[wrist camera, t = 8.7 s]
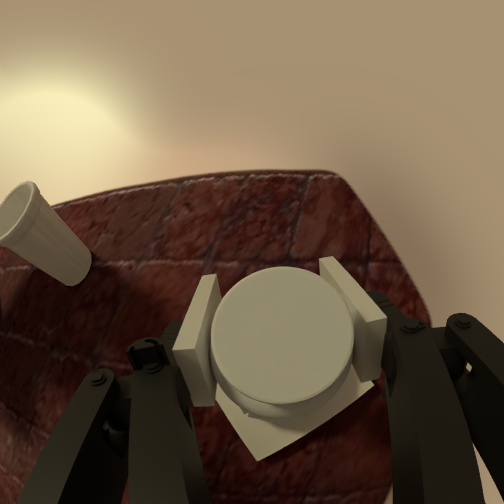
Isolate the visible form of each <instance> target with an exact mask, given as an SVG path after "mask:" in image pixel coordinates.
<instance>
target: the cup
mask: <svg viewBox="0 0 504 504" xmlns="http://www.w3.org/2000/svg"><path fill="white" fill-rule="evenodd" d="M0 245H1V246H2V247H8V248H10V249H11V250H13V251H14V252H15V253H17V254H18V255H20V256H21V257H23V258H24V259H26V260H27V261H29V262H30V263H32V264H33V265H35V266H36V267H38V268H39V269H41V270H42V271H44V272H46V273H47V274H49V275H50V276H52V277H54V278H55V279H57V280H59V281H60V282H62V283H64V284H65V285H66V286H74V285H76V284H78V283H80V282H81V281H82V280H83V279H84V278H85V276H86V275H87V273H88V271H89V269H90V266H91V262H92V261H91V253H90V251H89V249H88V248H87V247H86V246H85V245H84V244H83V243H82V242H81V240H80V239H79V238H78V237H77V236H76V235H75V234H74V233H73V232H72V231H71V230H70V228H69V227H68V226H67V225H66V224H65V223H64V222H63V220H62V219H61V218H60V217H59V216H58V215H57V213H56V212H55V211H54V210H53V209H52V208H51V206H50V205H49V204H48V203H47V201H46V200H45V199H44V198H43V197H42V195H41V194H40V191H39V189H38V187H37V186H36V184H35V183H33V182H31V181H26V182H23V183H21V184H20V185H18V186H17V187H15V188H14V189H13V190H12V191H11V192H10V193H9V194H8V195H7V197H6V198H5V199H4V201H3V202H2V204H1V206H0Z"/></svg>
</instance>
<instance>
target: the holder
mask: <svg viewBox="0 0 504 504" xmlns="http://www.w3.org/2000/svg"><path fill="white" fill-rule="evenodd" d="M373 386H374V384H373V383H372V381H367V382H364V383H361V382H360V380H359V378H358V376H357V374H356V372H355V369H354V367H353V365H352V363H351V367H350V371H349V373H348V376H347V378H346V380H345V381H344V383H343V385H342V386H341V388H340V389H339V391H338V392H337V393H336V394H335V395H334V396H333V397H332V398H331V399H330V400H329V401H328V402H327V403H326V404H325V405H323V406H322V407H320V408H319V409H317V410H315V411H313V412H311V413H309V414H307V415H304V416H301V417H297V418H293V419H282V420H277V419H268V418H263V417H260V416H256V415H254V414H251V413H249V412H247V411H245V410H244V409H242V408H240V407H239V406H238V405H236V404H235V403H234V402H233V401H232V400H230V399H229V398H228V396H227V395H226V394H225V393H224V392H223V390H222V389H221V387H220V386H219V384H218V382H217V389H216V397H215V399H216V400H217V402H218V403H219V405H220V407H221V408H222V410H223V411H224V413H225V415H226V416H227V418H228V419H229V421H230V422H231V424H232V425H233V427H234V428H235V430H236V431H237V433H238V434H239V436H240V437H241V439H242V440H243V442H244V443H245V445H246V446H247V448H248V449H249V450H250V452H251V453H252V455H253V456H254V457H255V459H256V460H257V461H259V460H261V459H263V458H265V457H267V456H269V455H271V454H273V453H275V452H276V451H278V450H280V449H282V448H284V447H285V446H287V445H289V444H291V443H292V442H294V441H296V440H297V439H299V438H301V437H302V436H304V435H306V434H307V433H309V432H310V431H312V430H314V429H315V428H317V427H318V426H320V425H321V424H323V423H324V422H326V421H327V420H329V419H330V418H332V417H333V416H334V415H336V414H337V413H339V412H340V411H342V410H343V409H344V408H346V407H347V406H348V405H350V404H351V403H352V402H354V401H355V400H356V399H358V398H359V397H360V396H361V395H363V394H364V393H365V392H367V391H368V390H369V389H370V388H371V387H373Z"/></svg>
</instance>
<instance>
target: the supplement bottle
mask: <svg viewBox="0 0 504 504" xmlns="http://www.w3.org/2000/svg"><path fill="white" fill-rule="evenodd" d="M353 346H354V324H353V319H352V316H351V313H350V310H349V308H348V305H347V303H346V302H345V300H344V298H343V297H342V296H341V294H340V293H339V292H338V291H337V290H336V289H335V287H334V286H332V285H331V284H330V283H329V282H328V281H326V280H325V279H323V278H322V277H320V276H318V275H317V274H315V273H312V272H310V271H307V270H304V269H299V268H293V267H274V268H268V269H264V270H261V271H258V272H255V273H253V274H251V275H249V276H247V277H245V278H243V279H242V280H241V281H239V282H238V283H237V284H236V285H234V286H233V287H232V288H231V289H230V290H229V291H228V293H227V294H226V295H225V296H224V298H223V299H222V301H221V302H220V304H219V306H218V308H217V310H216V313H215V316H214V319H213V323H212V328H211V343H210V360H211V366H212V370H213V373H214V375H215V378H216V380H217V382H218V384H219V386H220V387H221V389H222V390H223V392H224V393H225V394H226V395H227V396H228V398H229V399H230V400H232V401H233V402H234V403H235V404H236V405H238V406H239V407H240V408H242V409H244V410H245V411H247V412H249V413H251V414H254V415H256V416H260V417H263V418H268V419H277V420H282V419H293V418H297V417H301V416H304V415H307V414H309V413H311V412H313V411H315V410H317V409H319V408H320V407H322V406H323V405H325V404H326V403H327V402H328V401H329V400H330V399H331V398H332V397H333V396H334V395H335V394H336V393H337V392H338V391H339V389H340V388H341V386H342V385H343V383H344V381H345V380H346V378H347V376H348V373H349V371H350V367H351V363H352V358H353Z"/></svg>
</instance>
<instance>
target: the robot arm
mask: <svg viewBox="0 0 504 504" xmlns="http://www.w3.org/2000/svg"><path fill="white" fill-rule="evenodd" d="M319 264H320V277H322V278H323V279H325V280H326V281H328V282H329V283H330V284H331V285H332V286H334V287H335V289H336V290H337V291H338V292H339V293H340V294H341V296H342V297H343V298H344V300H345V302H346V303H347V305H348V308H349V310H350V313H351V316H352V319H353V324H354V346H353V358H352V365H353V367H354V369H355V372H356V374H357V376H358V378H359V380H360V382H361V383H364V382H367V381H371V380H375V379H378V378H380V372H381V367H382V368H383V370H384V372H385V373H386V376H385V382H384V387H383V392H382V398H383V397H385V393H386V400H387V408H388V417H389V427H390V438H391V452H392V474H393V504H486V503H485V501H484V496H483V489H482V483H481V479H480V473H479V468H478V464H477V459H476V455H475V451H474V447H473V444H474V446H475V447H476V449H477V451H478V452H479V454H480V456H481V458H482V460H483V461H484V463H485V465H486V467H487V469H488V471H489V473H490V475H491V476H492V479H493V481H494V482H495V484H496V487H497V489H498V490H499V492H500V495H501V497H502V499H503V501H504V343H503V342H502V341H501V340H500V339H499V338H497V337H496V336H495V335H494V334H493V333H492V332H491V331H490V330H489V329H487V328H486V327H485V326H484V325H483V324H482V323H480V322H479V321H478V320H477V319H476V318H474V317H473V316H471V315H468V314H465V313H457V314H453V315H451V316H450V317H449V318H448V319H447V323H446V327H438V328H429V327H428V325H427V324H426V323H425V322H424V321H422V320H420V319H417V318H407V317H406V316H405V315H404V314H403V313H402V312H401V311H400V310H399V309H398V308H397V307H396V306H395V305H394V304H393V303H392V302H391V301H390V300H389V299H388V298H387V297H386V296H385V295H384V294H383V293H380V292H378V291H376V290H374V291H370V292H365V291H364V290H363V289H362V288H361V287H360V286H359V284H358V283H357V282H356V281H355V280H354V279H353V278H352V277H351V276H350V274H349V273H348V272H347V271H346V270H345V269H344V268H343V267H342V266H341V265H340V264H339V263H338V261H337V260H336V259H335V258H334V257H333V256H332V257H326V258H319ZM221 301H222V298H221V294H220V289H219V284H218V279H217V275H216V274H212V275H205V276H202V278H201V280H200V283H199V285H198V287H197V290H196V292H195V295H194V297H193V299H192V302H191V304H190V307H189V309H188V312H187V314H186V316H185V319H184V321H173V322H172V323H170V324H169V325H168V326H167V327H166V328H165V330H164V332H163V334H162V336H161V338H160V339H159V338H155V337H147V338H142V339H139V340H137V341H135V342H133V343H132V344H131V345H129V346H128V347H127V349H126V354H127V356H128V358H129V360H130V363H131V365H132V367H133V369H134V374H132V375H128V376H123V377H118V378H116V377H115V375H114V373H113V371H111V370H110V369H105V368H103V369H97V370H94V371H92V372H91V373H89V374H88V375H87V376H86V377H85V378H84V379H83V381H82V382H81V384H80V386H79V387H78V389H77V390H76V392H75V394H74V395H73V397H72V399H71V400H70V402H69V404H68V405H67V407H66V409H65V410H64V412H63V414H62V416H61V417H60V419H59V421H58V423H57V424H56V426H55V428H54V430H53V431H52V433H51V435H50V437H49V439H48V441H47V442H46V444H45V446H44V448H43V450H42V452H41V454H40V456H39V458H38V460H37V462H36V464H35V466H34V468H33V470H32V472H31V474H30V476H29V478H28V480H27V482H26V484H25V487H24V489H23V491H22V493H21V496H20V498H19V500H18V502H17V504H121V501H122V497H123V493H124V489H125V486H126V482H127V478H128V480H129V504H212V501H211V498H210V494H209V490H208V486H207V482H206V478H205V474H204V470H203V466H202V461H201V457H200V452H199V447H198V443H197V438H196V433H195V427H194V422H193V417H192V413H191V411H190V408H189V401H190V397H191V399H192V402H193V404H194V406H214V405H215V397H216V389H217V380H216V378H215V375H214V373H213V370H212V366H211V360H210V343H211V328H212V323H213V319H214V316H215V313H216V310H217V308H218V306H219V304H220V302H221ZM467 363H469V364H470V365H471V366H472V369H471V371H468V370H467V368H466V366H467ZM104 422H106V426H105V427H104V429H103V425H104ZM472 442H473V443H472Z"/></svg>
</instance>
